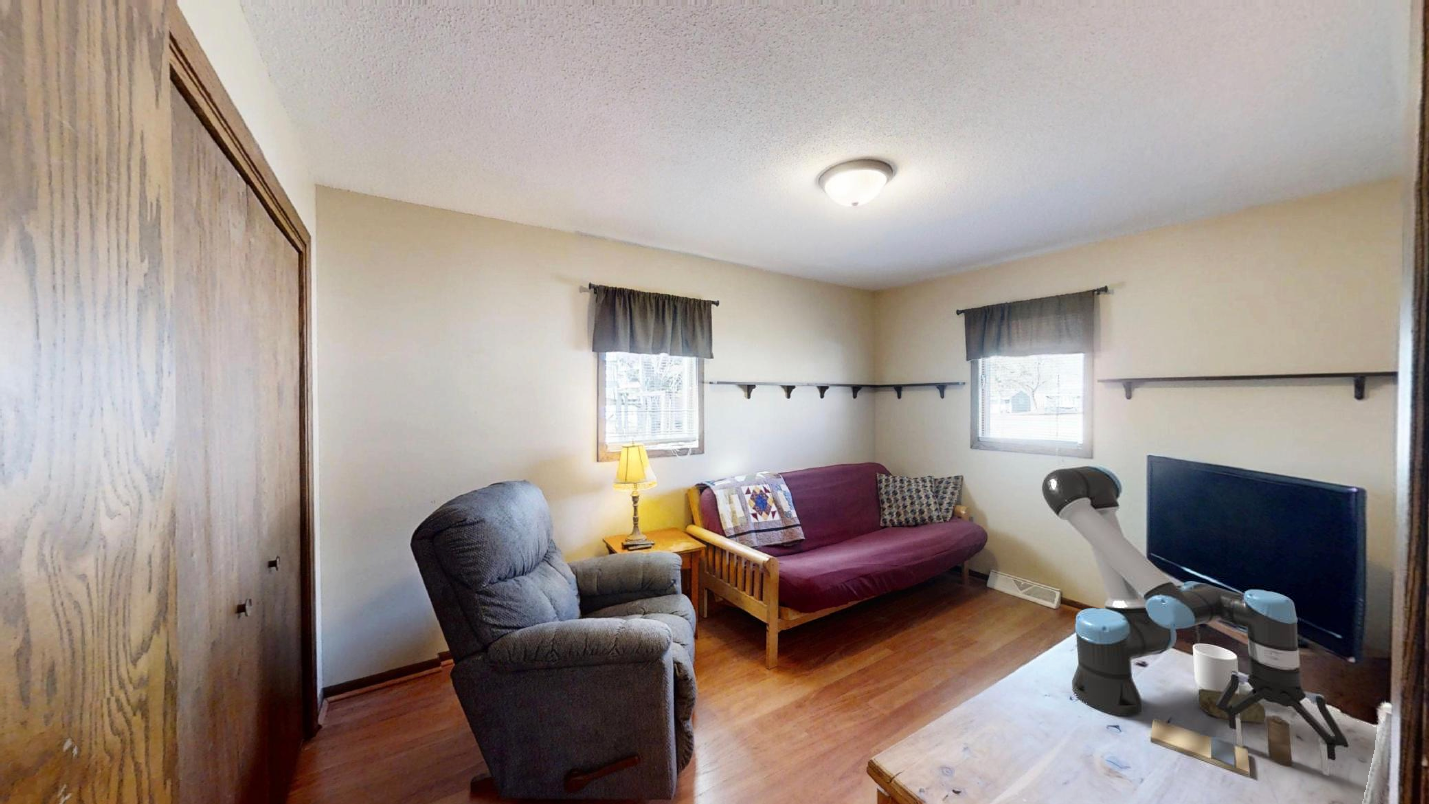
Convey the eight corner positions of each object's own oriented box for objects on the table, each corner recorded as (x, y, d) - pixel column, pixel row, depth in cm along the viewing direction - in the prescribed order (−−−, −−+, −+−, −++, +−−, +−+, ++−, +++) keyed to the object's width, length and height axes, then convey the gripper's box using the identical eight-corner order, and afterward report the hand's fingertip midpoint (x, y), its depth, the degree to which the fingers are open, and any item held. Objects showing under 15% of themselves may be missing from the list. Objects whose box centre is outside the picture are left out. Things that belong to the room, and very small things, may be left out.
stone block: (1268, 726, 117) (1267, 706, 117) (1210, 719, 120) (1208, 699, 120) (1250, 711, 122) (1249, 692, 122) (1195, 705, 126) (1194, 686, 126)
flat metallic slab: (1150, 741, 113) (1150, 735, 113) (1160, 681, 136) (1160, 676, 136) (1250, 777, 102) (1249, 770, 102) (1242, 705, 124) (1242, 699, 124)
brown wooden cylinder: (1269, 760, 106) (1266, 717, 106) (1268, 752, 108) (1265, 710, 108) (1293, 768, 103) (1290, 724, 104) (1291, 760, 106) (1288, 717, 106)
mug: (1253, 690, 130) (1250, 652, 130) (1229, 701, 126) (1226, 662, 126) (1211, 674, 138) (1209, 638, 138) (1188, 684, 134) (1185, 647, 134)
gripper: (1198, 649, 112) (1204, 739, 112) (1366, 690, 95) (1374, 797, 94) (1198, 638, 117) (1204, 724, 117) (1358, 674, 100) (1366, 775, 100)
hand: (1280, 756), depth 106 cm, fingers open, 12 cm apart
